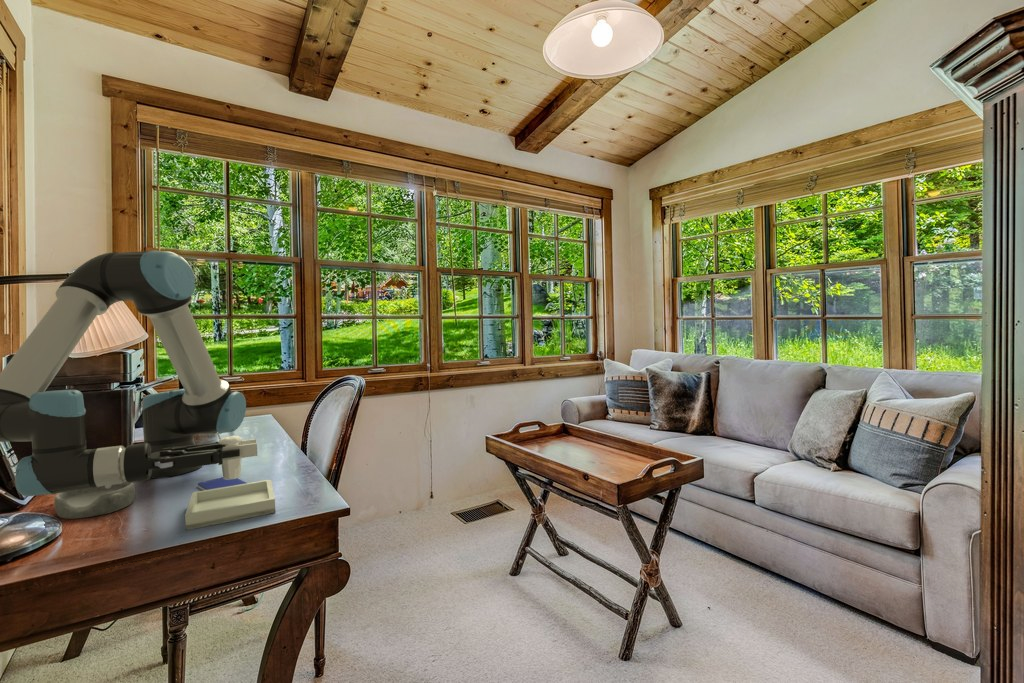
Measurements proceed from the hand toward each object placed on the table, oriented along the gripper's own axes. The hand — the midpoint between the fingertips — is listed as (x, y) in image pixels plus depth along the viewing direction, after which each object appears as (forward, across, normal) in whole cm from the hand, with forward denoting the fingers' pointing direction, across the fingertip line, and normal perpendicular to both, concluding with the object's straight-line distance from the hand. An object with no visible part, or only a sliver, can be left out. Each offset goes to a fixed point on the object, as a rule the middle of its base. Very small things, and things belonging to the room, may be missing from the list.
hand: (256, 447), depth 108 cm
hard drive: (-7, -20, -14) cm, 25 cm away
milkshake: (-5, 0, -6) cm, 8 cm away
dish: (-32, -19, -14) cm, 40 cm away
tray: (-5, 0, -13) cm, 14 cm away
